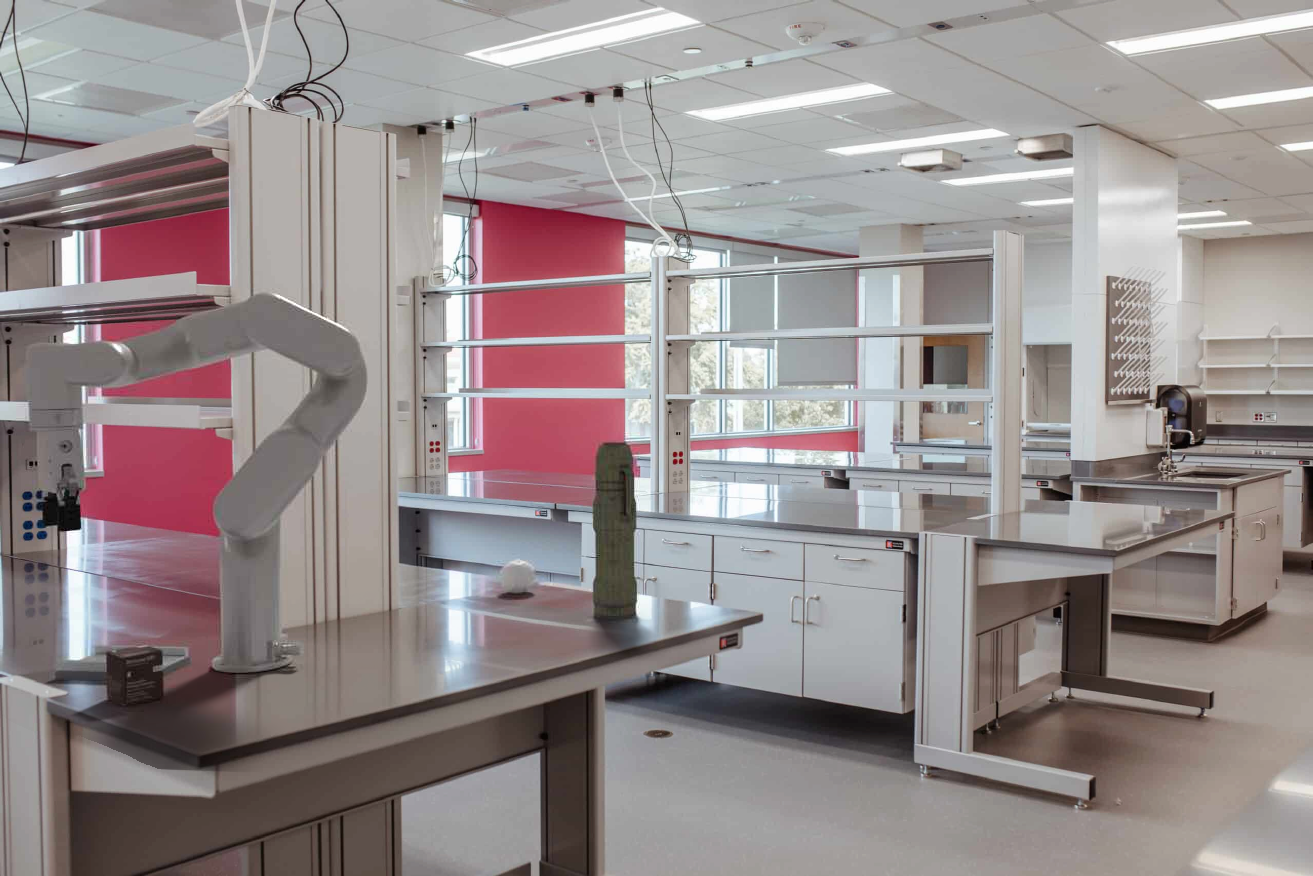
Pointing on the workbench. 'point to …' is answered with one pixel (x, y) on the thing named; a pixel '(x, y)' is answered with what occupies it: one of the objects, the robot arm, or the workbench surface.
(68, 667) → the panel
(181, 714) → the workbench surface
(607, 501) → the thermos
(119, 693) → the box
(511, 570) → the white ball
